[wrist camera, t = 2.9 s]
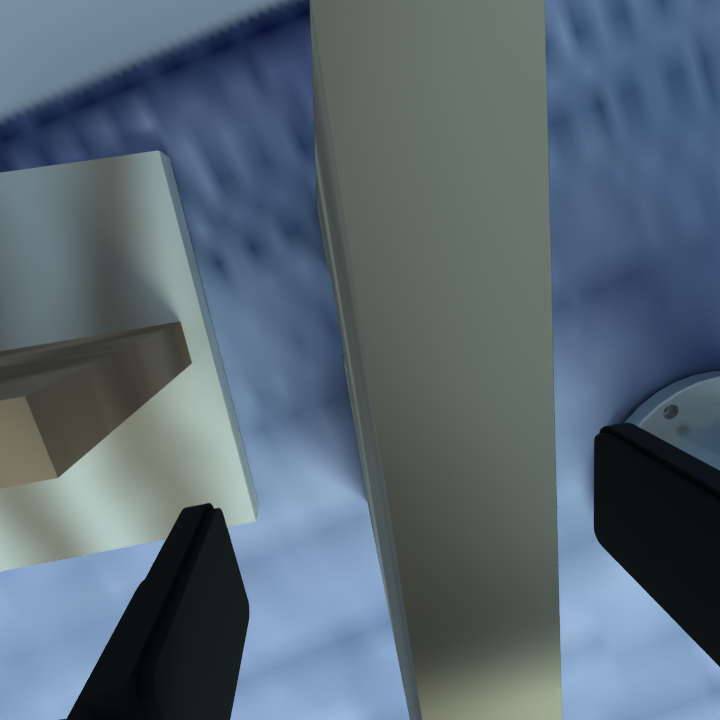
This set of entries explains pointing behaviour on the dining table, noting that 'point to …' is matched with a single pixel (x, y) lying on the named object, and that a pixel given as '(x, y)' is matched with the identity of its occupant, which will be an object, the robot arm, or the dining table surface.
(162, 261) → the cross base
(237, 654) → the robot arm
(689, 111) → the dining table surface
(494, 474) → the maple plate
